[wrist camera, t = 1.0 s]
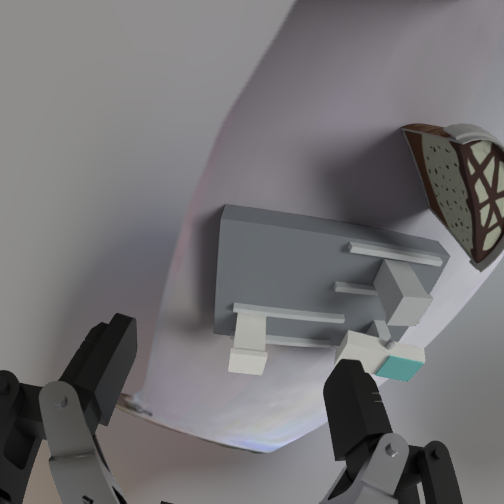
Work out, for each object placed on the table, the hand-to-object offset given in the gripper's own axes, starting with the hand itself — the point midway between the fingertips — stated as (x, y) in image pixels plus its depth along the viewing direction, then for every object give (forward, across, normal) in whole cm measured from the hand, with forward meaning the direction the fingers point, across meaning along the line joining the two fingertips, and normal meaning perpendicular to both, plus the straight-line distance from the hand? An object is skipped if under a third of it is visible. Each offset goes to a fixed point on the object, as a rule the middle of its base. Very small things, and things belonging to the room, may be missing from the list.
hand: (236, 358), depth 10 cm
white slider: (+16, -3, +11) cm, 20 cm away
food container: (+16, -17, -11) cm, 26 cm away
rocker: (+12, -18, +10) cm, 24 cm away
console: (+19, -10, +6) cm, 22 cm away
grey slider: (+15, -15, +1) cm, 21 cm away
